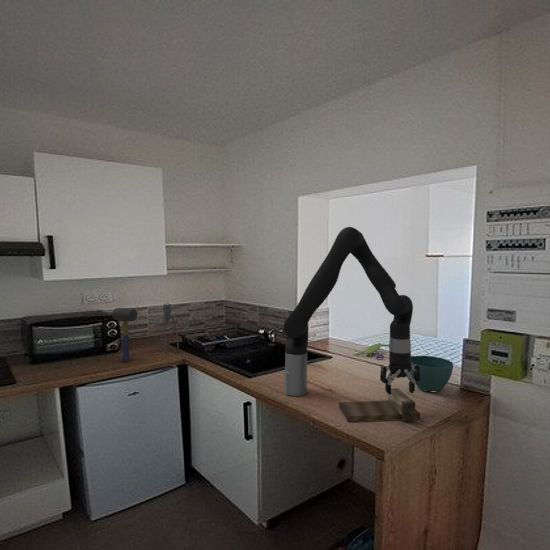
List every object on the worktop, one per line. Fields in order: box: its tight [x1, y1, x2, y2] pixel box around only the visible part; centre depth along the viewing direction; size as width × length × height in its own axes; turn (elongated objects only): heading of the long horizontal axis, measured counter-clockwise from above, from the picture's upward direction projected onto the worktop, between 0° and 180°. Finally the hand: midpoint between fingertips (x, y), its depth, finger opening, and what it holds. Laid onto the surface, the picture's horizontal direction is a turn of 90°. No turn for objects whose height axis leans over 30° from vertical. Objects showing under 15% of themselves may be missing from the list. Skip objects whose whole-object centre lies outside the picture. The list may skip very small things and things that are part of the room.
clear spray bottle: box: [160, 302, 180, 355], centre depth 217 cm, size 10×11×30 cm
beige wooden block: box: [387, 388, 416, 422], centre depth 130 cm, size 4×14×6 cm, turn 5°
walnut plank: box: [338, 399, 421, 422], centre depth 131 cm, size 26×12×2 cm, turn 95°
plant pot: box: [409, 355, 454, 392], centre depth 154 cm, size 18×18×12 cm
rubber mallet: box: [111, 307, 138, 362], centre depth 198 cm, size 12×8×30 cm, turn 70°
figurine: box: [354, 342, 389, 359], centre depth 210 cm, size 18×27×6 cm
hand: (400, 393), depth 131 cm, fingers open, 8 cm apart
